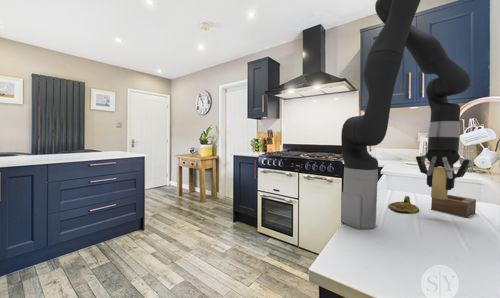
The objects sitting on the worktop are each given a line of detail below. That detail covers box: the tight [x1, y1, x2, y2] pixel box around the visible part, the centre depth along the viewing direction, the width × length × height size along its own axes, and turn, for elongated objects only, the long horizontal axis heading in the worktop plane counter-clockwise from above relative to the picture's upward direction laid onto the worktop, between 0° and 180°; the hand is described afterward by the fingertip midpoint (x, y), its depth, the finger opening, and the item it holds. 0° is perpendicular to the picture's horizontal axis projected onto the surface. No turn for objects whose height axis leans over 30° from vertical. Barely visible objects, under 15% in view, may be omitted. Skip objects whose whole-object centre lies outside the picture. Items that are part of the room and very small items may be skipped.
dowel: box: [430, 167, 449, 200], centre depth 69 cm, size 4×4×10 cm
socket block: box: [430, 194, 477, 219], centre depth 77 cm, size 10×10×5 cm
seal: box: [387, 195, 420, 215], centre depth 80 cm, size 9×5×15 cm
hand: (439, 188), depth 69 cm, fingers closed on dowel, 4 cm apart
